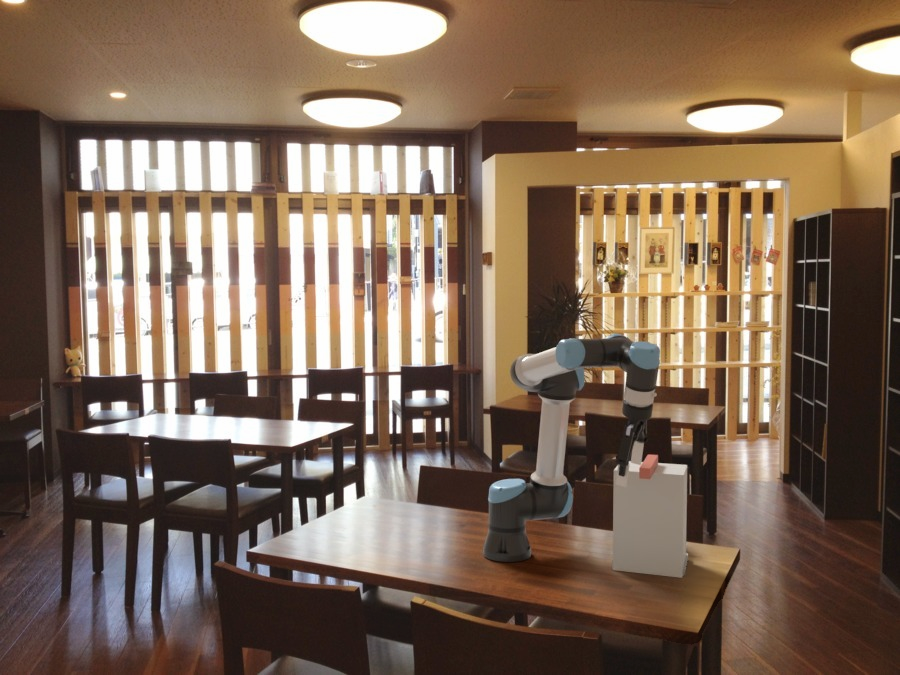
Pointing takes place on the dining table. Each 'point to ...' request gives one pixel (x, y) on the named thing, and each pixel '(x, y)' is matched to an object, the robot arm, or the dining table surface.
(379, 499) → the dining table surface
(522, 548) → the robot arm
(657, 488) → the white upright block
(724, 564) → the dining table surface
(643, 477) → the lever bar
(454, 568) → the dining table surface
